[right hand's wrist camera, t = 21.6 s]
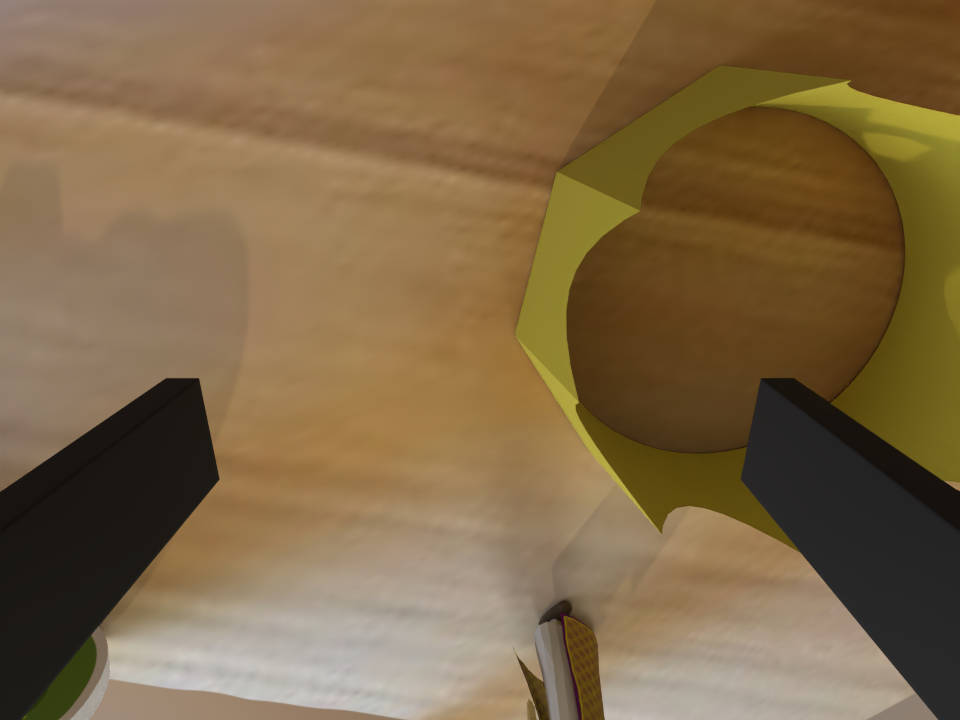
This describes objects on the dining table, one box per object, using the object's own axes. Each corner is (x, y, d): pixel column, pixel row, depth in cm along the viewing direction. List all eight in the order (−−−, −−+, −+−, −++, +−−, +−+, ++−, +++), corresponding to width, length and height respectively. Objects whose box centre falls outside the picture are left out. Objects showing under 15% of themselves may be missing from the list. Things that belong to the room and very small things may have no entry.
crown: (916, 450, 50) (1087, 562, 36) (541, 504, 52) (564, 630, 38) (974, 15, 38) (1269, -72, 24) (479, 111, 40) (478, 83, 26)
